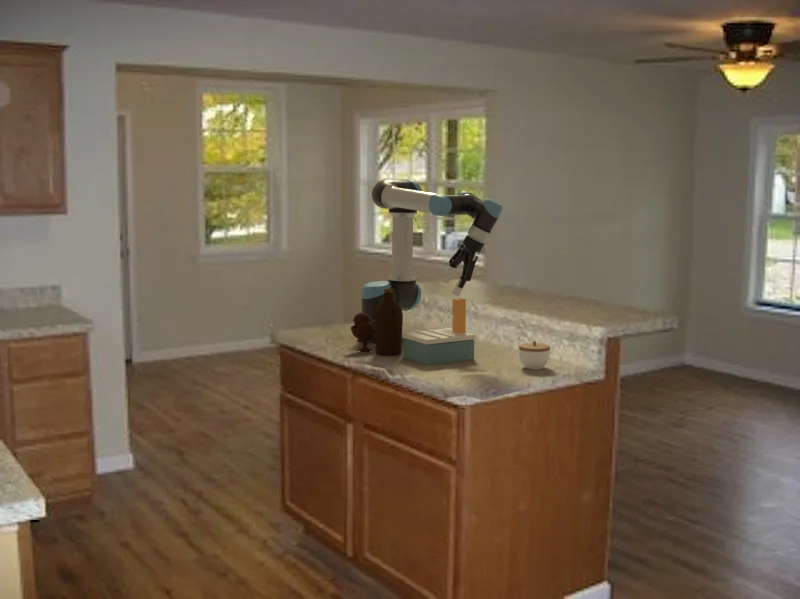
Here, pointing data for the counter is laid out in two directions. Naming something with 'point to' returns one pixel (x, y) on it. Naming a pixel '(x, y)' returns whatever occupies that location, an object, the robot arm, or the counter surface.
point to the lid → (446, 334)
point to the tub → (438, 351)
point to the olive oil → (388, 326)
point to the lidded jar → (534, 355)
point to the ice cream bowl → (363, 330)
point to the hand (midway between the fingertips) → (449, 288)
